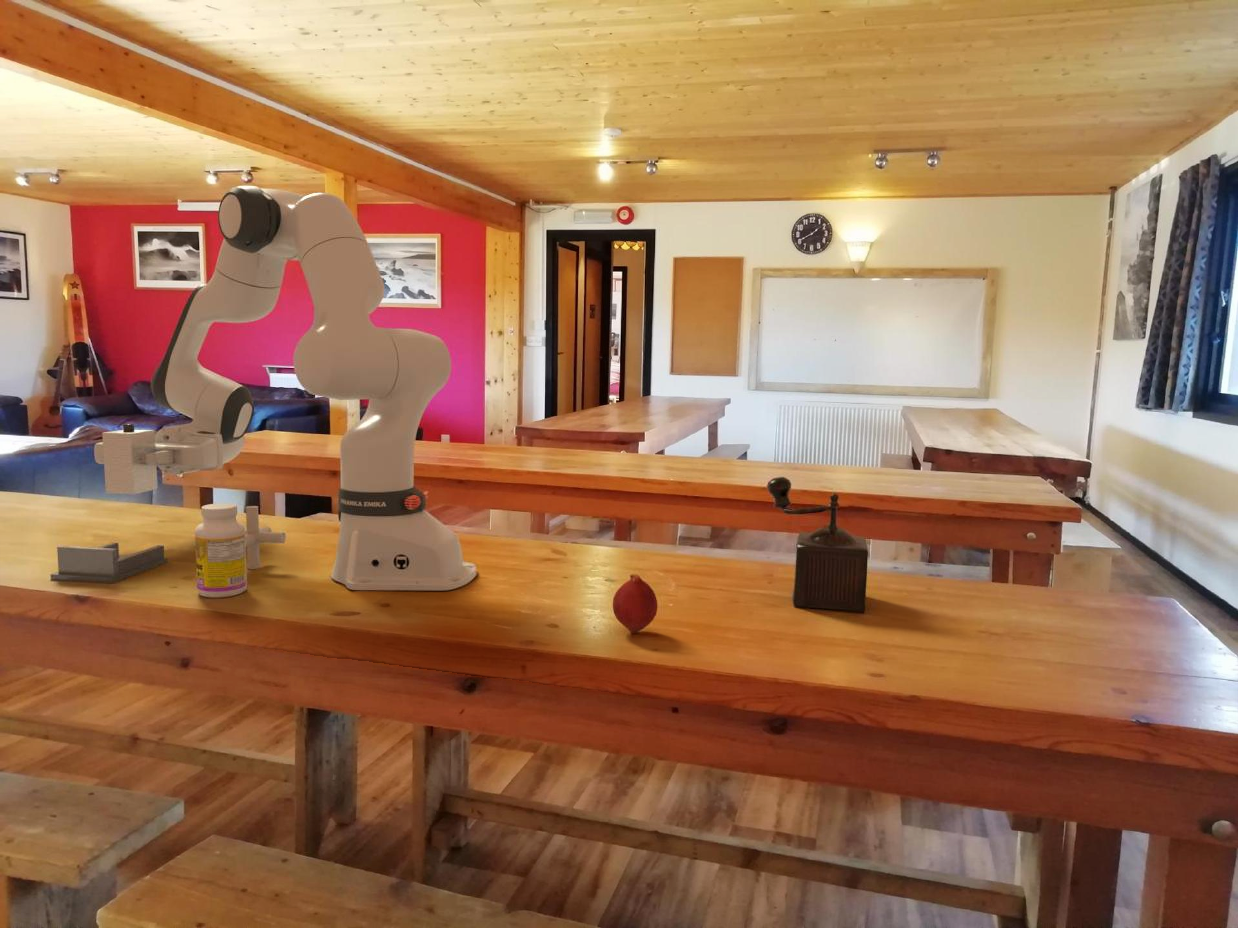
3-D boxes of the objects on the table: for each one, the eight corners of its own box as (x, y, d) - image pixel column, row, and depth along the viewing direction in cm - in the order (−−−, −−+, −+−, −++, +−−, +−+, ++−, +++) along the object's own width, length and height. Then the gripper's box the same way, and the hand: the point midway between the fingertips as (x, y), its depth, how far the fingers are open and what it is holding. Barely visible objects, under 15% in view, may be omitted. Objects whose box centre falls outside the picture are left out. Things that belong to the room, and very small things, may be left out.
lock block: (157, 488, 148) (154, 423, 146) (133, 494, 142) (130, 426, 141) (130, 487, 149) (126, 422, 147) (105, 493, 143) (101, 425, 141)
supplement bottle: (200, 587, 128) (197, 502, 127) (249, 585, 130) (246, 501, 129) (193, 600, 122) (190, 510, 120) (244, 597, 124) (241, 509, 122)
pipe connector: (271, 576, 135) (269, 513, 134) (208, 574, 135) (205, 511, 134) (296, 561, 145) (295, 502, 144) (237, 559, 145) (235, 500, 144)
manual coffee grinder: (862, 594, 135) (870, 480, 133) (866, 614, 125) (874, 491, 122) (762, 585, 139) (767, 474, 136) (757, 604, 128) (763, 484, 126)
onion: (631, 622, 118) (632, 565, 117) (665, 632, 114) (667, 573, 113) (603, 632, 113) (604, 573, 112) (637, 643, 110) (639, 581, 109)
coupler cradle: (167, 562, 142) (166, 533, 141) (112, 583, 129) (110, 551, 129) (110, 558, 143) (109, 530, 142) (50, 579, 130) (49, 548, 130)
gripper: (124, 430, 158) (68, 438, 144) (229, 434, 156) (182, 441, 142) (126, 464, 159) (70, 475, 145) (231, 468, 156) (184, 479, 143)
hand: (126, 458), depth 144 cm, fingers closed on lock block, 5 cm apart
